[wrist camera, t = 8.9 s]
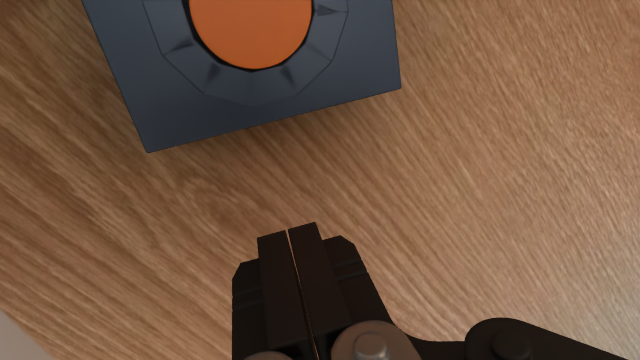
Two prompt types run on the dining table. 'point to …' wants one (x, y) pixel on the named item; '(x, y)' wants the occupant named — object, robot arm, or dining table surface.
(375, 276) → the dining table surface
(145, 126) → the control block
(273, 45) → the button
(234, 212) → the dining table surface
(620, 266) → the dining table surface
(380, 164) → the dining table surface
